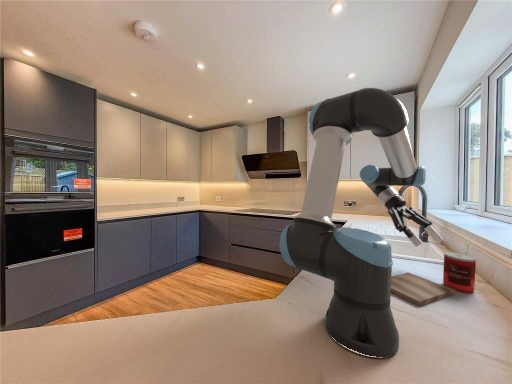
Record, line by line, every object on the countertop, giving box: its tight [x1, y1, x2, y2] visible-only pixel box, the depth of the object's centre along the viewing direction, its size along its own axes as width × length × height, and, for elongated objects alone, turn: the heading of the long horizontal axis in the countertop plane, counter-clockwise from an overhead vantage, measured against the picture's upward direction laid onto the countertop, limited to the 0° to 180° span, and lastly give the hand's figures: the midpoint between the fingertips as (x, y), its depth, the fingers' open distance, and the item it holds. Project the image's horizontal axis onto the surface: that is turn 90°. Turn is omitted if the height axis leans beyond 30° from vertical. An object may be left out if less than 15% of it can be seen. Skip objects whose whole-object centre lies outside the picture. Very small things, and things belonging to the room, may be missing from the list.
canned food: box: [442, 251, 477, 294], centre depth 71 cm, size 8×8×11 cm
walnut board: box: [391, 272, 456, 307], centre depth 69 cm, size 18×14×2 cm
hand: (430, 242), depth 79 cm, fingers open, 13 cm apart
